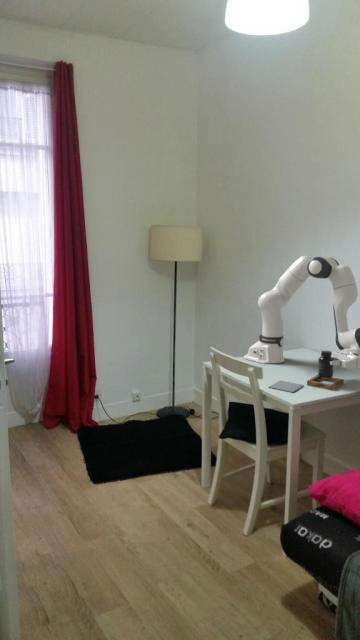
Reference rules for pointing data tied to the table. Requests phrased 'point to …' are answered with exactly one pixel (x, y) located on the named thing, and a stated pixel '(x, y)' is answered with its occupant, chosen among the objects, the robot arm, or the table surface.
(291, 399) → the table surface
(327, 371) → the supplement bottle
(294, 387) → the grey mat
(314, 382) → the frame
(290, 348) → the table surface
